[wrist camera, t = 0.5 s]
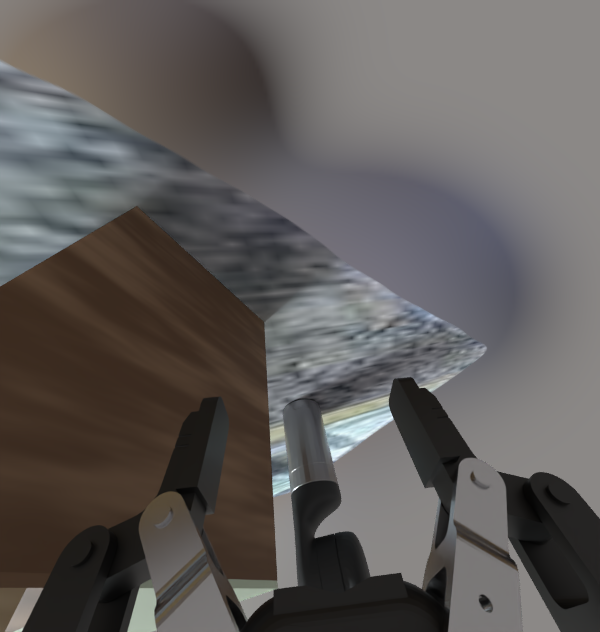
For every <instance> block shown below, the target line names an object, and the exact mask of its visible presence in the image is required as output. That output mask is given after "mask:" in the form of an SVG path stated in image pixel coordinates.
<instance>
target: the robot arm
mask: <svg viewBox="0 0 600 632" xmlns="http://www.w3.org/2000/svg"><path fill="white" fill-rule="evenodd" d="M389 407H390V411H391V413H392V416H393V418H394V420H395V422H396V424H397V427H398V429H399V431H400V433H401V436H402V438H403V440H404V442H405V445H406V446H407V449H408V451H409V454H410V456H411V458H412V460H413V462H414V465H415V467H416V469H417V471H418V474H419V476H420V478H421V480H422V483H423V485H424V487H425V488H428V487H435V490H436V492H437V494H438V496H439V501H438V507H437V514H436V521H435V527H434V534H433V541H432V547H431V552H430V555H429V558H428V561H427V565H426V569H425V574H424V580H423V586H422V589H421V588H419V587H417V586H416V585H413V584H411V583H409V582H406V581H403V578H402V575H401V573H397V574H389V575H381V576H374V577H370V573H369V569H368V565H367V562H366V558H365V555H364V552H363V549H362V546H361V544H360V542H359V540H358V538H357V537H356V535H355V534H354V533H352V532H339V533H335V535H334V534H331V535H327V536H323V537H318V538H314V535H315V532H316V529H317V528H318V526H319V525H320V523H321V522H322V521H323V520H324V519H325V518H326V517H327V516H328V515H330V514H331V513H332V512H334V511H335V510H336V509H337V508H338V507H339V506H340V504H341V494H340V490H339V486H338V482H337V478H336V473H335V470H334V465H333V461H332V457H331V453H330V449H329V444H328V440H327V436H326V432H325V428H324V423H323V419H322V415H321V411H320V406H319V404H318V403H317V402H315V401H313V400H308V399H303V400H297V401H294V402H292V403H290V404H288V405H287V406H286V407H285V408H284V410H283V421H284V431H285V441H286V451H287V461H288V470H289V479H290V489H291V499H292V508H293V520H294V530H295V545H296V563H297V579H298V586H297V587H289V588H282V589H274V597H273V598H271V599H269V600H268V601H267V602H265V603H264V604H263V605H261V606H260V607H259V608H258V609H257V610H256V611H255V612H254V613H253V614H252V616H251V617H250V618H249V619H248V620H247V618H246V616H245V614H244V611H243V609H242V607H241V604H240V602H239V600H238V598H237V596H236V594H235V592H234V590H233V588H232V586H231V584H230V582H229V581H228V579H227V577H226V575H225V573H224V570H223V568H222V566H221V564H220V561H219V559H218V557H217V555H216V553H215V550H214V548H213V546H212V544H211V541H210V539H209V537H208V535H207V533H206V530H205V528H204V526H203V525H204V519H205V515H209V514H214V512H215V506H216V501H217V495H218V489H219V483H220V477H221V471H222V466H223V460H224V454H225V448H226V442H227V437H228V431H229V418H228V414H227V411H226V408H225V405H224V402H223V400H222V397H221V396H220V397H209V398H203V400H202V402H201V405H200V408H199V411H195V412H191V413H190V414H189V415H188V417H187V418H186V419H185V421H184V422H183V424H182V427H181V430H180V432H179V435H178V436H179V437H178V438H177V441H176V444H175V448H174V450H173V453H172V455H171V458H170V461H169V464H168V467H167V470H166V473H165V476H164V479H163V481H162V484H161V487H160V490H159V492H158V494H157V496H156V497H155V499H154V500H152V502H151V503H150V504H149V505H148V506H147V507H146V509H144V510H143V511H142V512H141V513H139V514H138V515H136V516H134V517H132V518H130V519H128V520H126V521H124V522H122V523H119V524H117V525H115V526H113V527H111V528H109V529H107V528H106V527H104V526H102V525H95V526H91V527H89V528H87V529H85V530H83V531H82V532H80V533H79V534H78V535H76V536H75V537H74V538H73V539H72V540H71V541H70V542H69V543H68V544H67V546H66V547H65V548H64V550H63V551H62V553H61V554H60V556H59V558H58V560H57V562H56V564H55V566H54V568H53V570H52V572H51V574H50V576H49V578H48V580H47V582H46V584H45V586H44V588H43V590H42V592H41V594H40V596H39V598H38V600H37V602H36V604H35V606H34V608H33V610H32V612H31V614H30V616H29V618H28V620H27V622H26V624H25V626H24V628H23V630H22V632H127V631H128V628H129V624H130V620H131V617H132V613H133V609H134V606H135V602H136V598H137V595H138V591H139V587H140V585H141V584H143V583H144V582H146V581H148V580H150V579H151V580H152V584H153V588H154V592H155V596H156V607H155V610H154V617H155V624H156V628H157V632H523V629H522V613H521V596H520V582H519V581H520V580H519V572H518V569H517V565H516V564H515V562H514V560H512V559H511V558H510V555H509V550H508V538H509V540H510V541H511V543H512V545H513V547H514V549H515V550H516V552H517V554H518V556H519V557H520V559H521V561H522V563H523V565H524V567H525V568H526V570H527V572H528V574H529V576H530V577H531V579H532V581H533V583H534V585H535V586H536V588H537V590H538V592H539V593H540V595H541V597H542V599H543V600H544V602H545V604H546V606H547V608H548V609H549V611H550V613H551V615H552V617H553V619H554V620H555V622H556V624H557V626H558V628H559V629H560V631H561V632H600V519H599V517H598V516H597V515H596V514H595V513H594V512H593V510H592V509H591V508H590V507H589V506H588V504H587V503H586V502H585V501H584V500H583V498H582V497H581V496H580V495H579V494H578V493H577V491H576V490H575V489H574V488H572V487H571V486H570V485H569V484H568V483H566V482H565V481H563V480H562V479H560V478H558V477H557V476H554V475H552V474H549V473H544V472H538V473H535V474H533V475H532V476H531V477H530V478H529V479H527V478H523V477H519V476H514V475H510V474H506V473H501V472H498V471H496V470H495V469H494V468H493V467H491V466H490V465H489V464H487V463H486V462H484V461H482V460H479V459H477V458H476V456H475V455H474V454H473V453H472V451H471V450H470V448H469V447H468V446H467V444H466V442H465V441H464V440H463V438H462V436H461V435H460V433H459V432H458V430H457V429H456V427H455V426H454V424H453V423H452V421H451V420H450V418H448V415H447V413H446V412H445V410H443V408H442V406H441V404H440V403H439V401H438V400H437V398H436V397H435V396H434V395H433V394H432V393H431V392H429V391H428V390H427V389H426V388H419V387H418V385H417V384H416V382H415V381H414V379H413V378H411V377H407V378H397V379H394V380H393V384H392V388H391V393H390V397H389Z"/></svg>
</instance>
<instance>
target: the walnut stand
mask: <svg viewBox="0 0 600 632" xmlns="http://www.w3.org/2000/svg"><path fill="white" fill-rule="evenodd" d="M220 396H221V397H222V400H223V402H224V405H225V408H226V411H227V414H228V418H229V431H228V437H227V442H226V448H225V454H224V460H223V466H222V471H221V477H220V483H219V489H218V495H217V501H216V506H215V512H214V514H209V515H205V519H204V525H203V526H204V528H205V530H206V533H207V535H208V537H209V539H210V541H211V544H212V546H213V548H214V550H215V553H216V555H217V557H218V559H219V561H220V564H221V566H222V568H223V570H224V573H225V575H226V577H227V579H228V581H229V582H230V584H231V586H232V588H233V590H234V592H235V594H236V596H237V598H238V600H239V602H240V601H243V600H246V599H248V598H252V597H254V596H257V595H260V594H263V593H266V592H269V591H272V590H274V589H278V585H277V566H276V547H275V527H274V507H273V487H272V468H271V448H270V429H269V409H268V389H267V370H266V350H265V331H264V322H263V321H262V320H261V319H260V318H259V317H258V316H257V315H255V314H254V313H253V312H252V311H251V310H250V309H249V308H248V307H247V306H246V305H244V304H243V303H242V302H241V301H240V300H239V299H238V298H237V297H236V296H235V295H233V294H232V293H231V292H230V291H229V290H228V289H227V288H226V287H225V286H224V285H223V284H221V283H220V282H219V281H218V280H217V279H216V278H215V277H214V276H213V275H212V274H210V273H209V272H208V271H207V270H206V269H205V268H204V267H203V266H202V265H201V264H200V263H198V262H197V261H196V260H195V259H194V258H193V257H192V256H191V255H190V254H189V253H187V252H186V251H185V250H184V249H183V248H182V247H181V246H180V245H179V244H178V243H176V242H175V241H174V240H173V239H172V238H171V237H170V236H169V235H168V234H167V233H166V232H164V231H163V230H162V229H161V228H160V227H159V226H158V225H157V224H156V223H155V222H153V221H152V220H151V219H150V218H149V217H148V216H147V215H146V214H145V213H144V212H143V211H141V210H140V209H139V208H138V207H137V206H136V207H134V208H133V209H131V210H129V211H128V212H126V213H124V214H123V215H121V216H119V217H118V218H116V219H114V220H112V221H111V222H109V223H107V224H106V225H104V226H102V227H101V228H99V229H97V230H95V231H94V232H92V233H90V234H89V235H87V236H85V237H84V238H82V239H80V240H79V241H77V242H75V243H73V244H72V245H70V246H68V247H67V248H65V249H63V250H62V251H60V252H58V253H57V254H55V255H53V256H51V257H50V258H48V259H46V260H45V261H43V262H41V263H40V264H38V265H36V266H34V267H33V268H31V269H29V270H28V271H26V272H24V273H23V274H21V275H19V276H18V277H16V278H14V279H12V280H11V281H9V282H7V283H6V284H4V285H2V286H1V287H0V588H26V590H25V592H24V594H23V596H22V598H21V600H20V602H19V604H18V606H17V608H16V610H15V612H14V614H13V616H12V618H11V620H10V622H9V624H8V626H7V628H6V630H5V632H22V630H23V628H24V626H25V624H26V622H27V620H28V618H29V616H30V614H31V612H32V610H33V608H34V606H35V604H36V602H37V600H38V598H39V596H40V594H41V592H42V590H43V588H44V586H45V584H46V582H47V580H48V578H49V576H50V574H51V572H52V570H53V568H54V566H55V564H56V562H57V560H58V558H59V556H60V554H61V553H62V551H63V550H64V548H65V547H66V546H67V544H68V543H69V542H70V541H71V540H72V539H73V538H74V537H75V536H76V535H78V534H79V533H80V532H82V531H83V530H85V529H87V528H89V527H91V526H95V525H102V526H104V527H106V528H107V529H109V528H111V527H113V526H115V525H117V524H119V523H122V522H124V521H126V520H128V519H130V518H132V517H134V516H136V515H138V514H139V513H141V512H142V511H143V510H144V509H146V507H147V506H148V505H149V504H150V503H151V502H152V500H154V499H155V497H156V496H157V494H158V492H159V490H160V487H161V484H162V481H163V479H164V476H165V473H166V470H167V467H168V464H169V461H170V458H171V455H172V453H173V450H174V448H175V444H176V441H177V438H178V437H179V436H178V435H179V432H180V430H181V427H182V424H183V422H184V421H185V419H186V418H187V417H188V415H189V414H190V413H191V412H195V411H199V408H200V405H201V402H202V400H203V398H209V397H220ZM155 607H156V596H155V592H154V588H153V584H152V580H151V579H150V580H148V581H146V582H144V583H143V584H141V585H140V587H139V591H138V595H137V598H136V602H135V606H134V609H133V613H132V617H131V620H130V624H129V628H128V631H127V632H152V631H155V630H157V628H156V624H155V617H154V610H155Z"/></svg>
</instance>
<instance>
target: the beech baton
mask: <svg viewBox="0 0 600 632" xmlns="http://www.w3.org/2000/svg"><path fill="white" fill-rule="evenodd" d="M25 590H26V588H0V632H5V630H6V628H7V626H8V624H9V622H10V620H11V618H12V616H13V614H14V612H15V610H16V608H17V606H18V604H19V602H20V600H21V598H22V596H23V594H24V592H25Z"/></svg>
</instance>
